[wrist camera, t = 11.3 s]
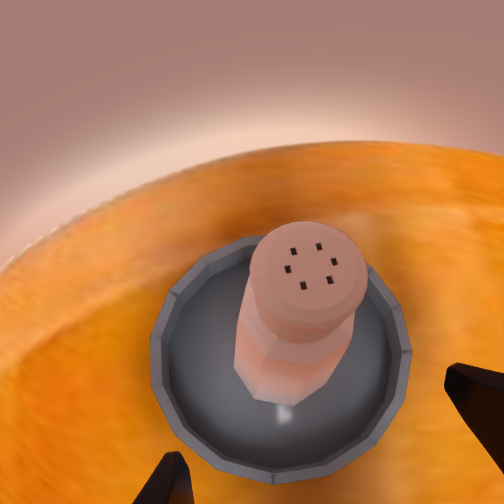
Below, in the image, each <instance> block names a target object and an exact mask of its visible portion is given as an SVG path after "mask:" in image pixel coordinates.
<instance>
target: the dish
mask: <svg viewBox="0 0 504 504" xmlns="http://www.w3.org/2000/svg"><path fill="white" fill-rule="evenodd" d="M265 236H266V235H259V236H250V237H243V238H241V239H239V240H237V241H235V242H232V243H230V244H228V245H226V246H224V247H222V248H220V249H218V250H216V251H213V252H211V253H209V254H207V255H205V256H203V257H201V258H200V259H199V260H198V261H197V262H196V263H195V264H194V265H193V267H192V268H191V269H190V270H189V271H188V272H187V273H186V274H185V275H184V276H183V277H182V278H181V279H180V280H179V281H178V282H177V283H176V284H175V285H174V286H173V287H172V288H171V289H170V290H169V292H168V294H167V297H166V299H165V301H164V304H163V306H162V309H161V311H160V313H159V316H158V318H157V321H156V323H155V326H154V328H153V331H152V333H151V335H150V355H151V387H152V389H153V391H154V393H155V396H156V398H157V400H158V402H159V404H160V406H161V408H162V411H163V413H164V415H165V417H166V419H167V421H168V423H169V425H170V427H171V429H172V431H173V433H174V434H175V435H176V436H177V437H178V438H179V439H180V440H181V441H183V442H184V443H185V444H186V445H187V446H188V447H190V448H191V449H192V450H193V451H194V452H196V453H197V454H198V455H199V456H200V457H202V458H203V459H204V460H205V461H207V462H208V463H209V464H210V465H212V466H213V467H214V468H215V469H217V470H220V471H223V472H227V473H230V474H233V475H237V476H240V477H244V478H248V479H252V480H255V481H259V482H264V483H268V484H272V485H273V484H281V483H289V482H296V481H302V480H308V479H314V478H319V477H324V476H329V475H331V474H332V473H334V472H336V471H337V470H339V469H341V468H342V467H344V466H345V465H347V464H349V463H350V462H352V461H353V460H355V459H356V458H358V457H359V456H361V455H362V454H364V453H365V452H366V451H368V450H369V449H371V448H372V447H374V446H375V445H376V444H377V442H378V441H379V440H380V438H381V437H382V435H383V434H384V432H385V431H386V429H387V428H388V426H389V425H390V423H391V421H392V420H393V418H394V417H395V415H396V413H397V412H398V410H399V409H400V407H401V405H402V404H403V402H404V399H405V394H406V388H407V382H408V376H409V369H410V362H411V355H412V349H411V345H410V341H409V337H408V332H407V328H406V325H405V321H404V317H403V313H402V309H401V306H400V304H399V303H398V301H397V300H396V299H395V297H394V296H393V294H392V293H391V292H390V290H389V289H388V287H387V286H386V285H385V283H384V282H383V281H382V279H381V278H380V277H379V275H378V274H377V273H376V271H375V270H374V269H373V268H372V267H371V266H369V265H368V264H366V268H367V272H368V280H367V289H366V292H365V295H364V297H363V300H362V302H361V303H360V305H359V306H358V307H357V309H356V310H355V315H354V325H353V333H352V338H351V341H350V343H349V346H348V347H347V349H346V351H345V353H344V354H343V356H342V358H341V359H340V361H339V363H338V364H337V366H336V368H335V369H334V371H333V373H332V374H331V376H330V377H329V379H328V381H327V382H326V384H325V385H323V386H322V387H321V388H319V389H318V390H316V391H315V392H314V393H312V394H311V395H309V396H308V397H306V398H305V399H303V400H302V401H300V402H299V403H297V404H296V405H294V406H289V405H283V404H277V403H272V402H266V401H261V400H256V399H254V398H253V396H252V395H251V393H250V392H249V390H248V389H247V387H246V386H245V384H244V383H243V381H242V380H241V378H240V377H239V375H238V374H237V372H236V371H235V369H234V356H235V343H236V331H237V323H238V318H239V313H240V309H241V305H242V301H243V297H244V293H245V289H246V284H247V281H248V278H249V275H250V263H251V259H252V255H253V253H254V251H255V249H256V248H257V246H258V244H259V242H260V241H261V240H262V239H263V238H264V237H265Z"/></svg>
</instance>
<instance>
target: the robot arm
mask: <svg viewBox="0 0 504 504" xmlns="http://www.w3.org/2000/svg"><path fill="white" fill-rule="evenodd" d="M444 388H445V391H446V393H447V394H448V396H449V397H450V399H451V401H452V402H453V404H454V405H455V407H456V409H457V410H458V412H459V414H460V415H461V417H462V418H463V420H464V421H465V423H466V424H467V425H468V427H469V428H470V429H471V431H472V432H473V433H474V435H475V436H476V437H477V439H478V440H479V441H480V443H481V444H482V445H483V446H484V448H485V449H486V451H487V452H488V453H489V455H490V456H491V457H492V459H493V460H494V461H495V463H496V464H497V465H498V467H499V468H500V470H501V471H502V472H503V474H504V373H500V372H496V371H491V370H487V369H483V368H479V367H475V366H470V365H466V364H462V363H455V364H453V365H451V366H449V367H448V368H447V371H446V377H445V382H444ZM132 504H194V498H193V491H192V484H191V477H190V471H189V467H188V465H187V463H186V462H185V460H184V458H183V456H182V455H181V453H180V452H178V451H174V452H167V453H165V455H164V456H163V458H162V459H161V461H160V462H159V464H158V465H157V467H156V468H155V470H154V472H153V473H152V475H151V476H150V478H149V479H148V481H147V482H146V484H145V485H144V487H143V488H142V490H141V491H140V493H139V494H138V496H137V497H136V499H135V500H134V502H133V503H132Z"/></svg>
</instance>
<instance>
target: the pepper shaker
mask: <svg viewBox="0 0 504 504" xmlns="http://www.w3.org/2000/svg"><path fill="white" fill-rule="evenodd" d="M367 280H368V272H367V268H366V263H365V260H364V258H363V256H362V254H361V252H360V250H359V248H358V247H357V246H356V245H355V243H354V242H353V241H352V240H351V239H350V238H349V237H348V236H346V235H345V234H344V233H342V232H341V231H339V230H338V229H336V228H334V227H331V226H329V225H326V224H324V223H318V222H313V221H300V222H293V223H289V224H285V225H282V226H280V227H278V228H276V229H275V230H273V231H271V232H270V233H268V234H267V235H266V236H265V237H264V238H263V239H262V240H261V241H260V242H259V244H258V246H257V248H256V249H255V251H254V253H253V255H252V259H251V263H250V275H249V278H248V281H247V284H246V289H245V293H244V297H243V301H242V305H241V309H240V313H239V318H238V323H237V331H236V343H235V356H234V369H235V371H236V372H237V374H238V375H239V377H240V378H241V380H242V381H243V383H244V384H245V386H246V387H247V389H248V390H249V392H250V393H251V395H252V396H253V398H254V399H256V400H261V401H266V402H272V403H277V404H283V405H289V406H294V405H296V404H297V403H299V402H300V401H302V400H303V399H305V398H306V397H308V396H309V395H311V394H312V393H314V392H315V391H316V390H318V389H319V388H321V387H322V386H323V385H325V384H326V382H327V381H328V379H329V377H330V376H331V374H332V373H333V371H334V369H335V368H336V366H337V364H338V363H339V361H340V359H341V358H342V356H343V354H344V353H345V351H346V349H347V347H348V346H349V343H350V341H351V338H352V333H353V325H354V315H355V310H356V309H357V307H358V306H359V305H360V303H361V302H362V300H363V297H364V295H365V292H366V289H367Z"/></svg>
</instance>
